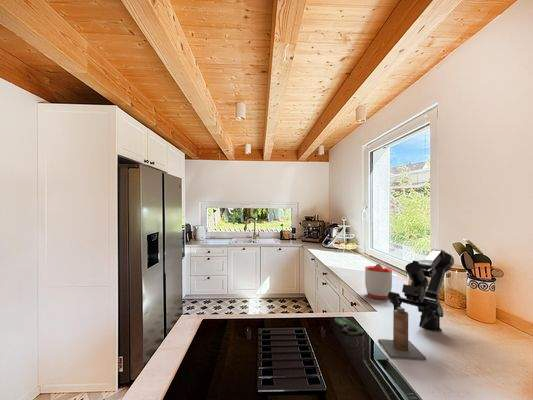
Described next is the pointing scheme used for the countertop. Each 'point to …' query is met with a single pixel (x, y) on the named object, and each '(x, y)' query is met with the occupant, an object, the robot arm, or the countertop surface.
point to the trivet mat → (394, 353)
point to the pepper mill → (400, 329)
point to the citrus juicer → (378, 281)
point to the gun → (348, 326)
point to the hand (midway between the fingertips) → (407, 322)
